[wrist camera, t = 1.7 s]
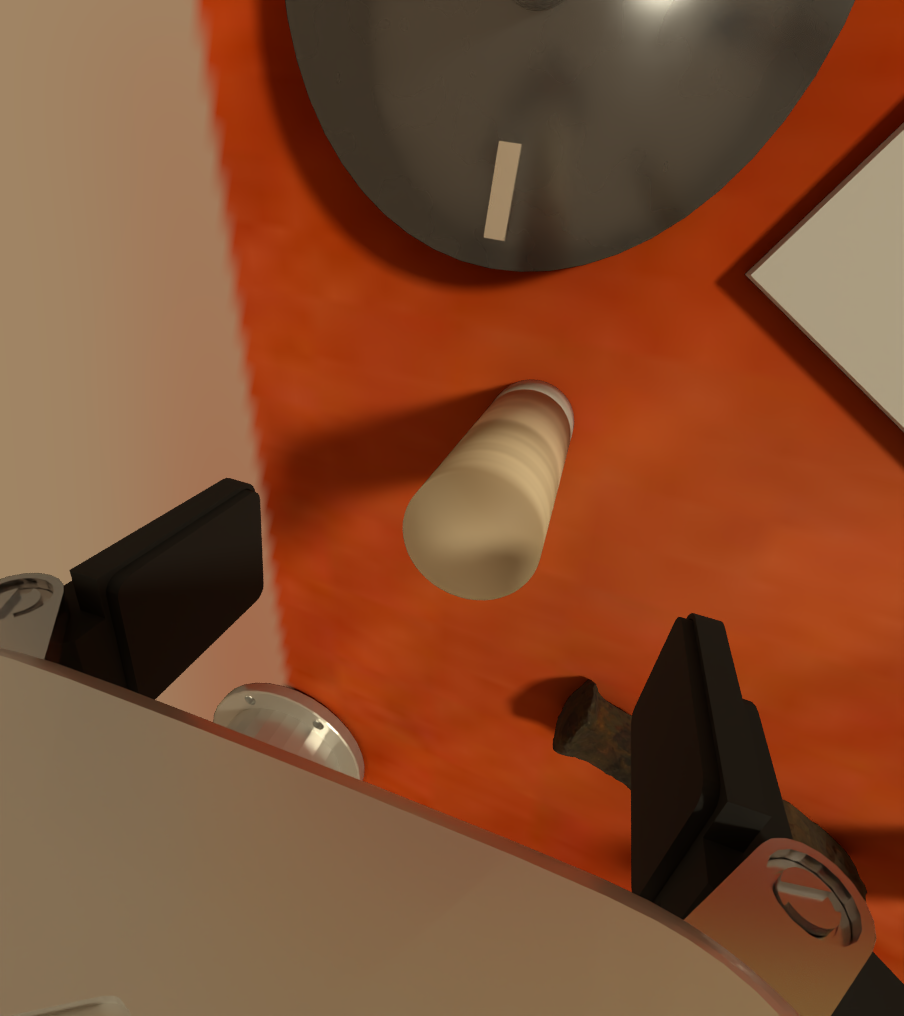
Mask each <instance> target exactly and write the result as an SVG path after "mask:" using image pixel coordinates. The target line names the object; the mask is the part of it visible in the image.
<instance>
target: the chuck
mask: <svg viewBox="0 0 904 1016" xmlns="http://www.w3.org/2000/svg"><path fill="white" fill-rule="evenodd" d="M854 1H855V0H285V2H286V10H287V17H288V22H289V27H290V31H291V36H292V40H293V45H294V49H295V54H296V58H297V62H298V65H299V68H300V71H301V74H302V77H303V80H304V83H305V86H306V90H307V93H308V96H309V99H310V101H311V103H312V105H313V108H314V110H315V112H316V115H317V117H318V119H319V121H320V124H321V126H322V128H323V130H324V133H325V135H326V136H327V138H328V140H329V141H330V143H331V145H332V147H333V148H334V150H335V152H336V154H337V155H338V157H339V159H340V161H341V162H342V164H343V165H344V167H345V168H346V169H347V171H348V172H349V173H350V175H351V176H352V178H353V179H354V180H355V182H356V183H357V184H358V186H359V187H360V188H361V190H362V191H363V192H364V193H365V194H366V195H367V196H368V197H369V198H370V199H371V201H372V202H373V203H374V204H375V205H376V206H377V207H378V208H379V209H380V210H381V211H382V212H383V213H384V214H385V215H386V216H387V217H389V218H390V219H391V220H392V221H393V222H395V223H396V224H397V225H398V226H400V227H401V228H402V229H403V230H404V231H406V232H407V233H408V234H410V235H412V236H413V237H415V238H416V239H418V240H420V241H421V242H423V243H425V244H426V245H428V246H430V247H431V248H433V249H435V250H437V251H440V252H442V253H444V254H447V255H449V256H451V257H454V258H456V259H458V260H461V261H464V262H468V263H472V264H475V265H479V266H483V267H487V268H492V269H501V270H510V271H519V272H525V271H552V270H558V269H563V268H569V267H575V266H580V265H585V264H588V263H591V262H594V261H598V260H601V259H604V258H607V257H610V256H613V255H616V254H619V253H621V252H623V251H625V250H627V249H630V248H632V247H634V246H636V245H638V244H640V243H643V242H645V241H647V240H649V239H651V238H653V237H654V236H656V235H658V234H659V233H661V232H663V231H664V230H666V229H667V228H669V227H671V226H672V225H674V224H675V223H677V222H679V221H680V220H682V219H684V218H685V217H686V216H688V215H689V214H690V213H692V212H693V211H694V210H695V209H697V208H698V207H699V206H700V205H702V204H703V203H704V202H706V201H707V200H708V199H709V198H711V197H712V196H713V195H715V194H716V193H717V192H718V191H720V190H721V189H722V188H723V187H724V186H725V185H726V184H727V183H728V182H729V181H730V180H731V179H732V178H733V177H734V176H735V175H736V174H737V173H738V172H739V171H740V170H741V169H742V168H743V167H744V166H745V165H746V164H747V163H748V162H749V161H750V160H752V159H753V157H754V156H755V155H756V154H757V153H758V151H759V150H760V149H761V148H762V147H763V146H764V144H765V143H766V142H767V141H768V140H769V138H770V137H771V136H772V135H773V134H774V133H775V131H776V130H777V129H778V128H779V127H780V125H781V124H782V123H783V122H784V121H785V119H786V118H787V116H788V115H789V114H790V112H791V111H792V109H793V108H794V106H795V105H796V103H797V102H798V101H799V99H800V98H801V96H802V95H803V93H804V92H805V90H806V89H807V87H808V86H809V85H810V83H811V82H812V80H813V79H814V77H815V76H816V74H817V72H818V71H819V69H820V67H821V65H822V63H823V62H824V60H825V58H826V56H827V55H828V53H829V51H830V49H831V47H832V46H833V44H834V42H835V40H836V38H837V37H838V35H839V33H840V31H841V29H842V28H843V26H844V24H845V22H846V19H847V17H848V15H849V13H850V10H851V8H852V6H853V4H854Z"/></svg>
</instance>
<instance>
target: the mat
mask: <svg viewBox="0 0 904 1016" xmlns="http://www.w3.org/2000/svg"><path fill="white" fill-rule="evenodd" d="M745 275H746V276H747V277H748V278H749V279H750V280H751V281H752V282H753V283H754V284H755V285H756V286H757V287H758V288H759V289H760V290H761V291H762V292H763V293H764V294H765V295H766V296H767V297H768V298H769V299H770V300H771V301H772V302H773V303H774V304H775V305H776V306H777V307H778V308H779V309H780V310H781V311H782V312H783V313H784V314H785V315H786V316H787V317H788V318H789V319H790V320H791V321H792V322H793V323H794V324H795V325H796V326H797V327H798V328H799V329H800V330H801V331H802V332H803V333H804V334H805V335H806V336H807V337H808V338H809V339H810V340H811V341H812V342H813V343H814V344H815V345H816V346H817V347H818V348H819V349H820V350H821V351H822V352H824V353H825V354H826V355H827V356H828V357H829V358H830V359H831V360H832V361H833V362H834V363H835V364H836V365H837V366H838V367H839V368H840V369H841V370H842V371H843V372H844V373H845V374H846V375H847V376H848V377H849V378H850V379H851V380H852V381H853V382H854V383H855V384H856V385H857V386H858V387H859V388H860V389H861V390H862V391H863V392H864V393H865V394H866V395H867V396H868V397H869V398H870V399H871V400H872V401H873V402H874V403H875V404H876V405H877V406H878V407H879V408H880V409H881V410H882V411H883V412H884V413H885V414H886V415H887V416H888V417H889V418H890V419H891V420H892V421H893V422H894V423H895V424H896V425H897V426H898V427H899V428H900V429H901V430H902V431H903V432H904V123H903V124H902V125H901V126H899V127H898V128H897V129H896V130H895V131H894V132H893V133H892V134H891V135H890V136H889V137H888V138H887V139H886V140H885V141H884V142H883V143H882V144H881V145H880V146H879V147H878V148H877V149H875V150H874V151H873V152H872V153H871V154H870V155H869V156H868V157H867V158H866V159H865V160H864V161H863V162H862V163H861V164H860V165H859V166H858V167H857V168H856V169H855V170H854V171H852V172H851V173H850V174H849V175H848V176H847V177H846V178H845V179H844V180H843V181H842V182H841V183H840V184H839V185H838V186H837V187H836V188H835V189H834V190H833V191H832V192H831V193H829V194H828V195H827V196H826V197H825V198H824V199H823V200H822V201H821V202H820V203H819V204H818V205H817V206H816V207H815V208H814V209H813V210H812V211H811V212H810V213H809V214H808V215H807V216H805V217H804V218H803V219H802V220H801V221H800V222H799V223H798V224H797V225H796V226H795V227H794V228H793V229H792V230H791V231H790V232H789V233H788V234H787V235H786V236H785V237H784V238H782V239H781V240H780V241H779V242H778V243H777V244H776V245H775V246H774V247H773V248H772V249H771V250H770V251H769V252H768V253H767V254H766V255H765V256H764V257H763V258H762V259H761V260H759V261H758V262H757V263H756V264H755V265H754V266H753V267H752V268H751V269H750V270H749V271H748V272H747V273H746V274H745Z"/></svg>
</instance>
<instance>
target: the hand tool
mask: <svg viewBox="0 0 904 1016" xmlns="http://www.w3.org/2000/svg"><path fill="white" fill-rule="evenodd" d="M631 719H632V716H631V715H629V714H627V713H625V712H623V711H622V710H620V709H619V708H617V707H615V706H614V705H612V704H611V703H609V702H607V701H606V700H605V699H604V698H603V697H602V696H601V695H600V694H599V692H598V689H597V686H596V684H595V683H594V682H593V681H592V680H587V681H586V682H585V683H584V684H583V685H582V686H581V687H580V688H579V689H577V690H576V691H575V692H574V693H573V694H572V695H571V696H570V697H569V699H568V700H567V702H566V703H565V705H564V707H563V710H562V712H561V714H560V716H559V717H558V720H557V724H556V729H555V735H554V738H553V749H554V751H556V752H557V753H559V754H562V755H565V756H570V757H576V758H578V759H581V760H584V761H587V762H589V763H590V764H592V765H594V766H596V767H597V768H599V769H601V770H602V771H603V772H605V773H606V774H608V775H611V776H613V777H614V778H615V779H616V780H618V781H620V782H622V783H624V784H625V785H626V786H627V787H628V788H629V789H630V790H631ZM782 801H783V804H784V808H785V812H786V815H787V819H788V822H789V826H790V830H791V833H792V837H793V840H794V841H798V842H801V843H803V844H805V845H807V846H809V847H811V848H813V849H815V850H816V851H818V852H820V853H821V854H822V855H824V856H825V857H826V858H827V859H829V860H830V861H831V862H833V863H834V864H835V865H836V866H837V867H838V868H839V869H840V870H841V871H842V872H843V873H844V874H845V875H846V876H847V877H848V878H849V879H850V880H851V882H852V883H853V884H854V886H855V887H856V888H857V890H858V891H859V893H860V894H861V896H862V897H863V899H864V900H865V902H866V898H865V895H866V893H867V890H866V887H865V885H864V883H863V882H862V881H861V879H860V877H859V874H858V872H857V869H856V867H855V865H854V863H853V862H852V860H851V859H850V856H849V855H848V854H847V853H846V852H845V850H844V849H843V848H842V847H841V846H840V845H839V844H838V843H837V842H836V841H835V840H834V839H833V838H832V837H831V836H830V835H829V834H828V833H826V832H825V831H824V830H823V829H822V828H821V827H820V826H819V825H817V824H816V823H814V822H812V821H811V820H809V819H808V818H807V817H806V816H805V815H804V814H802V813H801V812H800V811H799V810H798V809H796V808H795V807H794V806H793V805H791V804H790V803H789V802H787V801H785V800H783V799H782Z"/></svg>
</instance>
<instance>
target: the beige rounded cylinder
mask: <svg viewBox="0 0 904 1016" xmlns="http://www.w3.org/2000/svg"><path fill="white" fill-rule="evenodd" d="M573 427H574V414H573V410H572V407H571V404H570V403H569V401H568V399H567V398H566V396H565V395H564V394H563V393H562V392H561V391H560V390H559V389H558V388H557V387H555V386H553V385H552V384H549V383H547V382H544V381H540V380H523V381H519V382H516V383H514V384H512V385H510V386H508V387H507V388H506V389H504V390H503V391H502V392H501V393H500V394H499V396H498V397H497V398H496V399H495V400H494V402H493V403H492V404H491V405H490V406H489V407H488V409H487V410H486V411H485V412H484V413H483V415H482V416H481V417H480V418H479V419H478V421H477V422H476V423H475V424H474V425H473V426H472V428H471V429H470V430H469V431H468V432H467V434H466V435H465V436H464V437H463V438H462V439H461V441H460V442H459V443H458V444H457V445H456V447H455V448H454V449H453V450H452V451H451V452H450V454H449V455H448V456H447V457H446V458H445V460H444V461H443V462H442V463H441V464H440V465H439V467H438V468H437V469H436V470H435V471H434V473H433V474H432V475H431V476H430V477H429V478H428V480H427V481H426V482H425V483H424V484H423V486H422V487H421V488H420V489H419V490H418V491H417V493H416V494H415V495H414V497H413V498H412V499H411V501H410V503H409V504H408V506H407V509H406V512H405V515H404V520H403V537H404V542H405V546H406V549H407V551H408V554H409V556H410V558H411V560H412V561H413V563H414V564H415V566H416V567H417V569H418V570H419V571H420V572H421V573H422V575H424V576H425V577H426V578H427V579H428V580H429V581H430V582H431V583H433V584H434V585H435V586H437V587H439V588H440V589H442V590H444V591H446V592H448V593H450V594H452V595H455V596H458V597H462V598H466V599H472V600H491V599H497V598H501V597H504V596H507V595H509V594H511V593H513V592H515V591H517V590H518V589H519V588H521V587H522V586H523V585H524V584H525V583H527V582H528V580H529V579H530V578H531V577H532V575H533V574H534V572H535V570H536V568H537V566H538V563H539V560H540V557H541V553H542V549H543V545H544V541H545V537H546V533H547V529H548V526H549V522H550V518H551V514H552V510H553V506H554V502H555V498H556V494H557V490H558V487H559V483H560V479H561V475H562V471H563V467H564V463H565V459H566V455H567V452H568V448H569V444H570V440H571V436H572V432H573Z"/></svg>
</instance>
